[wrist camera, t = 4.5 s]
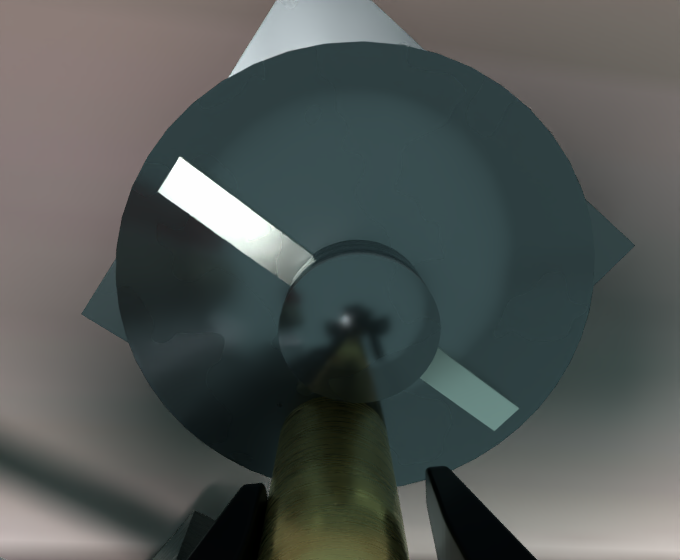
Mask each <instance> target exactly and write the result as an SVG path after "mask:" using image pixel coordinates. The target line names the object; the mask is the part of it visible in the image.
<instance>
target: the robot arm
mask: <svg viewBox="0 0 680 560" xmlns="http://www.w3.org/2000/svg"><path fill="white" fill-rule="evenodd" d="M425 479H426V503H427V510H428V515H429V519H430V524H431V529H432V534H433V539H434V543H435V548H436V553H437V558H438V560H537V559H536V558H535V557H534V556H533V555H532V554H531V553H530V552H529V551H528V550H527V549H526V548H525V547H524V546H523V545H522V544H521V543H520V542H519V541H518V539H517V538H516V537H515V536H514V535H513V534H512V533H511V532H510V531H509V530H508V529H507V528H506V527H505V526H504V525H503V524H502V523H501V522H500V521H499V520H498V519H497V518H496V517H495V516H494V515H493V514H492V512H491V511H490V510H489V509H488V508H487V507H486V506H485V505H484V504H483V503H482V502H481V501H480V500H479V499H478V498H477V497H476V496H475V495H474V494H473V493H472V492H471V491H470V490H469V489H468V488H467V487H466V485H465V484H464V483H463V482H462V481H461V480H460V479H459V478H458V477H457V476H456V475H455V474H454V473H453V472H452V471H451V470H450V469H449V468H448V467H446V466H434V467H428V468H427V469H426V471H425ZM267 502H268V498H267V493H266V489H265V486H264V484H262V483H256V484H246V485H244V486H242V487H241V488H240V489H239V491H238V492H237V493H236V495H235V496H234V497H233V499H232V500H231V501H230V503H229V504H228V505H227V507H226V508H225V509H224V511H223V512H222V513H221V515H220V516H219V517H218V519H217V520H216V521H215V523H214V524H213V525H212V527H211V528H210V529H209V530H208V532H207V533H206V534H205V536H204V537H203V538H202V540H201V541H200V542H199V544H198V545H197V546H196V548H195V549H194V550H193V552H192V553H191V554H190V556H189V557H188V558H187V560H257V557H258V552H259V546H260V541H261V535H262V530H263V524H264V519H265V513H266V508H267Z"/></svg>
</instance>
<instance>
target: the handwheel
mask: <svg viewBox="0 0 680 560" xmlns="http://www.w3.org/2000/svg"><path fill="white" fill-rule="evenodd" d="M594 261H595V250H594V242H593V234H592V225H591V220H590V216H589V212H588V209H587V205H586V201H585V198H584V194H583V191H582V189H581V186H580V184H579V182H578V180H577V177H576V175H575V173H574V171H573V168H572V166H571V164H570V162H569V160H568V159H567V157H566V155H565V154H564V152H563V151H562V149H561V148H560V146H559V145H558V143H557V141H556V140H555V138H554V137H553V135H552V134H551V133H550V131H549V130H548V129H547V128H546V127H545V126H544V125H543V124H542V122H541V121H540V120H539V119H538V118H537V117H536V116H535V114H534V113H533V112H532V111H531V110H530V109H529V108H528V107H527V106H526V105H524V104H523V103H522V102H521V101H520V100H518V99H517V98H516V97H515V96H514V95H512V94H511V93H510V92H509V91H508V90H506V89H505V88H504V87H503V86H501V85H500V84H498V83H496V82H495V81H493V80H491V79H490V78H488V77H486V76H485V75H483V74H482V73H480V72H478V71H477V70H475V69H473V68H472V67H469V66H467V65H464V64H462V63H459V62H457V61H455V60H452V59H450V58H447V57H445V56H442V55H440V54H438V53H433V52H429V51H425V50H421V49H417V48H413V47H409V46H405V45H400V44H389V43H378V42H367V41H358V42H340V43H325V44H320V45H315V46H311V47H306V48H301V49H296V50H291V51H288V52H285V53H282V54H279V55H277V56H274V57H271V58H269V59H266V60H263V61H260V62H258V63H255V64H253V65H251V66H249V67H247V68H245V69H244V70H242V71H240V72H238V73H236V74H234V75H233V76H231V77H229V78H227V79H225V80H224V81H222V82H220V83H219V84H218V85H216V86H215V87H214V88H212V89H211V90H210V91H208V92H207V93H206V94H204V95H203V96H202V97H200V98H199V99H198V100H197V101H195V102H194V103H193V104H191V106H190V107H189V108H188V109H187V110H186V111H185V112H184V113H183V114H182V115H181V116H180V117H179V118H178V119H177V120H176V121H175V122H174V123H173V124H172V125H171V126H170V127H169V128H168V129H167V131H166V132H165V133H164V135H163V136H162V138H161V139H160V140H159V142H158V143H157V144H156V146H155V147H154V149H153V150H152V151H151V153H150V154H149V156H148V157H147V159H146V161H145V163H144V165H143V167H142V169H141V171H140V173H139V175H138V177H137V179H136V180H135V182H134V184H133V186H132V189H131V192H130V195H129V198H128V201H127V204H126V207H125V210H124V213H123V216H122V220H121V226H120V231H119V237H118V242H117V249H116V287H117V296H118V306H119V311H120V314H121V318H122V322H123V326H124V330H125V334H126V337H127V340H128V342H129V345H130V347H131V350H132V352H133V355H134V357H135V360H136V362H137V364H138V365H139V367H140V369H141V371H142V373H143V374H144V376H145V378H146V380H147V381H148V383H149V385H150V387H151V388H152V389H153V391H154V392H155V393H156V395H157V396H158V397H159V399H160V400H161V401H162V403H163V404H164V405H165V407H166V408H167V409H168V410H169V411H170V412H171V413H172V414H173V415H174V416H175V417H176V418H177V420H178V421H179V422H180V423H181V424H182V425H183V426H184V427H185V428H186V429H188V430H189V431H190V432H191V433H192V434H194V435H195V436H196V437H197V438H199V439H200V440H201V441H202V442H203V443H205V444H206V445H207V446H209V447H211V448H212V449H214V450H215V451H217V452H218V453H220V454H221V455H223V456H224V457H226V458H227V459H229V460H231V461H233V462H235V463H237V464H239V465H241V466H243V467H245V468H247V469H249V470H251V471H254V472H257V473H259V474H262V475H265V476H267V477H270V478H272V480H271V486H270V491H269V497H268V502H267V508H266V513H265V519H264V524H263V530H262V535H261V541H260V546H259V552H258V557H257V560H410V559H409V553H408V548H407V542H406V536H405V531H404V525H403V520H402V514H401V508H400V503H399V497H398V492H397V486H403V485H407V484H411V483H415V482H419V481H423V480H426V479H425V471H426V469H427V468H428V467H434V466H446V467H448V468H449V469H450V470H453V469H455V468H457V467H459V466H462V465H464V464H466V463H468V462H470V461H472V460H474V459H476V458H477V457H479V456H480V455H482V454H484V453H485V452H487V451H488V450H490V449H491V448H493V447H495V446H496V445H498V444H499V443H500V442H502V441H503V440H504V439H505V438H507V437H508V436H509V435H510V434H512V433H513V432H514V431H515V430H517V429H518V428H519V427H520V426H521V425H522V424H523V423H524V422H525V421H526V420H527V419H528V418H529V417H530V416H531V415H532V414H533V413H534V412H535V411H536V410H537V409H538V408H539V407H540V405H541V404H542V403H543V402H544V400H545V399H546V398H547V397H548V395H549V394H550V393H551V391H552V390H553V389H554V388H555V386H556V385H557V383H558V381H559V380H560V378H561V376H562V375H563V373H564V372H565V370H566V368H567V367H568V365H569V363H570V361H571V359H572V357H573V355H574V352H575V350H576V348H577V346H578V343H579V341H580V339H581V336H582V333H583V330H584V326H585V323H586V320H587V317H588V313H589V310H590V304H591V297H592V291H593V285H594Z"/></svg>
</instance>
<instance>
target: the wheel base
mask: <svg viewBox="0 0 680 560" xmlns="http://www.w3.org/2000/svg"><path fill="white" fill-rule="evenodd" d="M358 41H367V42H378V43H389V44H400V45H405V46H409V47H413V48H417V49H421V50H424V49H423V48H422V47H421V46H420V45H419V44H418V43H416V42H415V41H414V40H413V39H412V38H411V37H410V36H409V35H408V34H407V33H406V32H405V31H404V30H402V29H401V28H400V27H399V26H398V25H397V24H396V23H395V22H394V21H393V20H392V19H391V18H390V17H388V16H387V15H386V14H385V13H384V12H383V11H382V10H381V9H380V8H379V7H378V6H377V5H376V4H375V3H373V2H372V1H371V0H276V2H275V4H274V5H273V7H272V8H271V10H270V12H269V13H268V15H267V16H266V18H265V20H264V21H263V23H262V24H261V26H260V28H259V29H258V31H257V32H256V34H255V36H254V37H253V39H252V41H251V42H250V44H249V45H248V47H247V49H246V50H245V52H244V53H243V55H242V57H241V58H240V60H239V61H238V63H237V65H236V66H235V68H234V69H233V71H232V73H231V74H230V76H229V77H231V76H233V75H234V74H236V73H238V72H240V71H242V70H244V69H245V68H247V67H249V66H251V65H253V64H255V63H258V62H260V61H263V60H266V59H269V58H271V57H274V56H277V55H279V54H282V53H285V52H288V51H291V50H296V49H301V48H306V47H311V46H315V45H320V44H325V43H340V42H358ZM585 201H586V205H587V209H588V212H589V216H590V220H591V225H592V234H593V242H594V250H595V261H594V285H595V284H596V283H597V282H598V281H599V280H600V279H601V278H602V277H603V276H604V275H605V274H606V273H607V272H608V271H609V270H610V269H611V268H612V267H613V266H614V265H615V264H617V263H618V262H619V261H620V260H621V259H622V258H623V257H624V256H625V255H626V254H627V253H628V252H629V251H630V250H631V249H632V248H633V247H634V246H635V245H634V244H633V243H632V242H631V241H630V240H629V239H628V238H626V237H625V236H624V235H623V234H622V233H621V232H620V231H619V230H618V229H617V228H616V227H615V226H614V225H612V224H611V223H610V222H609V221H608V220H607V219H606V218H605V217H604V216H603V215H602V214H601V213H600V212H598V211H597V210H596V209H595V208H594V207H593V206H592V205H591V204H590V203H589V202H588V201H587V200H586V199H585ZM594 285H593V286H594ZM82 315H83V316H85V317H87V318H88V319H90V320H92V321H93V322H95V323H97V324H98V325H100V326H102V327H103V328H105V329H107V330H108V331H110V332H112V333H113V334H115V335H117V336H118V337H120V338H122V339H123V340H125V341H127V342H128V340H127V337H126V334H125V330H124V326H123V322H122V318H121V314H120V311H119V306H118V296H117V287H116V259H115V261H114V262H113V264H112V266H111V267H110V269H109V271H108V272H107V274H106V275H105V277H104V279H103V280H102V282H101V283H100V285H99V287H98V288H97V290H96V291H95V293H94V295H93V296H92V298H91V299H90V301H89V303H88V304H87V306H86V308H85V309H84V311H83V312H82ZM128 343H129V342H128Z"/></svg>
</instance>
